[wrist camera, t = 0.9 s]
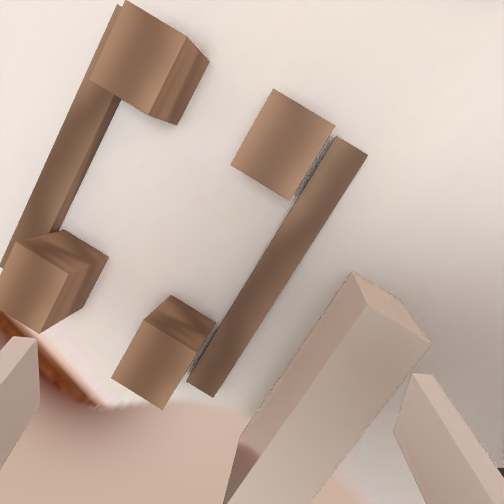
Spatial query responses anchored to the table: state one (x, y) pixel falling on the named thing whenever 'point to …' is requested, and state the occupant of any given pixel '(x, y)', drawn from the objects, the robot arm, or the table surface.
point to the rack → (246, 160)
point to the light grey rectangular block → (326, 396)
